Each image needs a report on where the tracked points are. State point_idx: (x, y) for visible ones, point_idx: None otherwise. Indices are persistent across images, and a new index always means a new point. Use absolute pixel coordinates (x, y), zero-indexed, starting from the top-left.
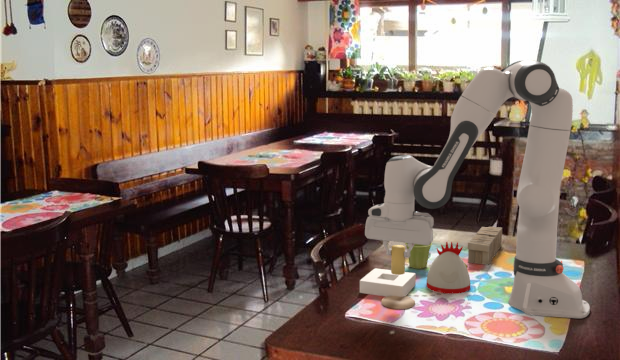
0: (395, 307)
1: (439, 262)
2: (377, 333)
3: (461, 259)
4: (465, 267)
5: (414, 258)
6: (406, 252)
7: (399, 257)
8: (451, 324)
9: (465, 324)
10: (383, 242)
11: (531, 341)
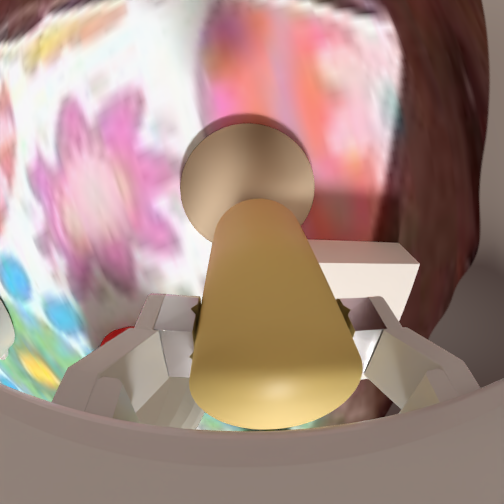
0: (240, 124)
1: (151, 418)
2: None
3: None
4: None
5: None
6: (160, 324)
7: (237, 265)
8: (36, 87)
9: (10, 111)
10: (465, 373)
11: None
